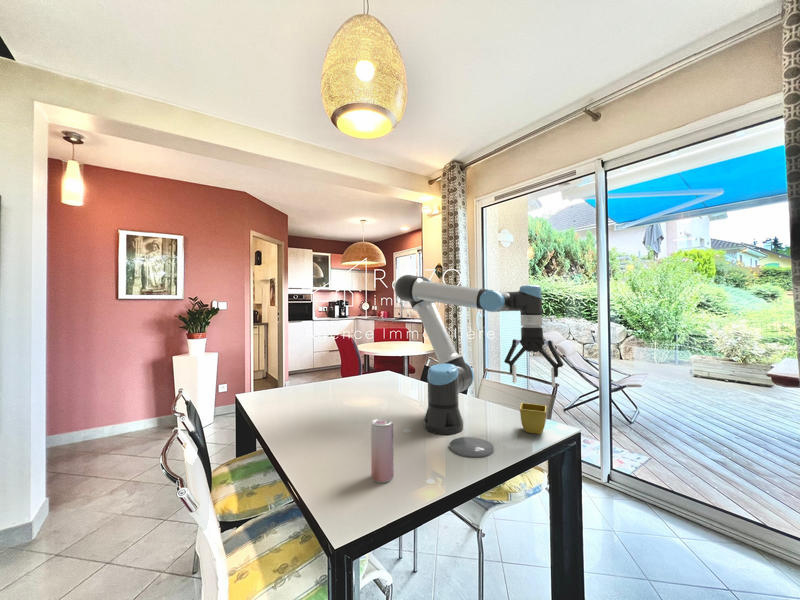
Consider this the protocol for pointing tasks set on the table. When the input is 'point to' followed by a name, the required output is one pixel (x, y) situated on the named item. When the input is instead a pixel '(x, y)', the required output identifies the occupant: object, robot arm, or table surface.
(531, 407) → the flower pot
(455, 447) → the disc
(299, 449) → the table surface
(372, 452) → the beverage can
